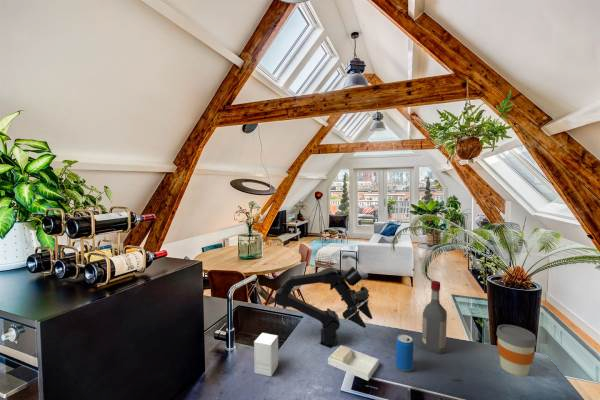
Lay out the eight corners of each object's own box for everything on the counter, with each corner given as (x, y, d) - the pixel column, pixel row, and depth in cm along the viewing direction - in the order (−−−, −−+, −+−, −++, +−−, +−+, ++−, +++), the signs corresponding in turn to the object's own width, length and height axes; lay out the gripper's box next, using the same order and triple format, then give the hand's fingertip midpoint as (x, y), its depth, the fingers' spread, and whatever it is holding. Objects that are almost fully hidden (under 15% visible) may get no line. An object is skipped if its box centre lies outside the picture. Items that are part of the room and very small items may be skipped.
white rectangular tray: (328, 365, 115) (328, 357, 115) (340, 352, 124) (340, 345, 124) (368, 382, 105) (368, 374, 105) (378, 366, 114) (378, 359, 114)
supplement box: (278, 365, 114) (278, 335, 114) (271, 377, 107) (271, 345, 107) (262, 361, 117) (262, 332, 116) (253, 373, 110) (253, 341, 109)
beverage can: (414, 373, 110) (415, 343, 109) (396, 371, 111) (397, 341, 110) (411, 363, 116) (411, 335, 115) (394, 361, 117) (395, 333, 117)
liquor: (446, 345, 129) (448, 281, 127) (444, 356, 121) (446, 287, 119) (424, 339, 134) (426, 277, 132) (421, 349, 126) (422, 283, 124)
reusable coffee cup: (541, 382, 105) (543, 343, 104) (501, 375, 109) (503, 337, 108) (526, 362, 117) (527, 327, 116) (490, 356, 121) (492, 322, 120)
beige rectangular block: (332, 363, 115) (332, 354, 115) (341, 353, 122) (341, 345, 122) (343, 367, 112) (343, 359, 112) (352, 357, 119) (352, 349, 119)
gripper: (350, 288, 116) (376, 322, 111) (365, 276, 132) (387, 305, 127) (332, 303, 121) (356, 336, 116) (348, 289, 137) (370, 318, 132)
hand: (368, 322), depth 123 cm, fingers open, 9 cm apart
